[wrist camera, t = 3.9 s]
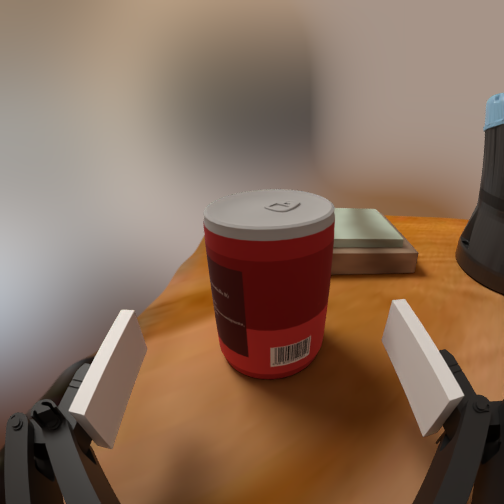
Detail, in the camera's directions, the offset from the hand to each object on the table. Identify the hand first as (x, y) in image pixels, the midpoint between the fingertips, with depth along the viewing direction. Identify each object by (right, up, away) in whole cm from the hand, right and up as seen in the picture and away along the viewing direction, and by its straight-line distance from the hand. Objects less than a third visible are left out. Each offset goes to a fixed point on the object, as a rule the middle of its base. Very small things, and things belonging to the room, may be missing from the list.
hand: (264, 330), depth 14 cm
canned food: (+1, -3, +8) cm, 9 cm away
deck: (+8, +4, +23) cm, 25 cm away
